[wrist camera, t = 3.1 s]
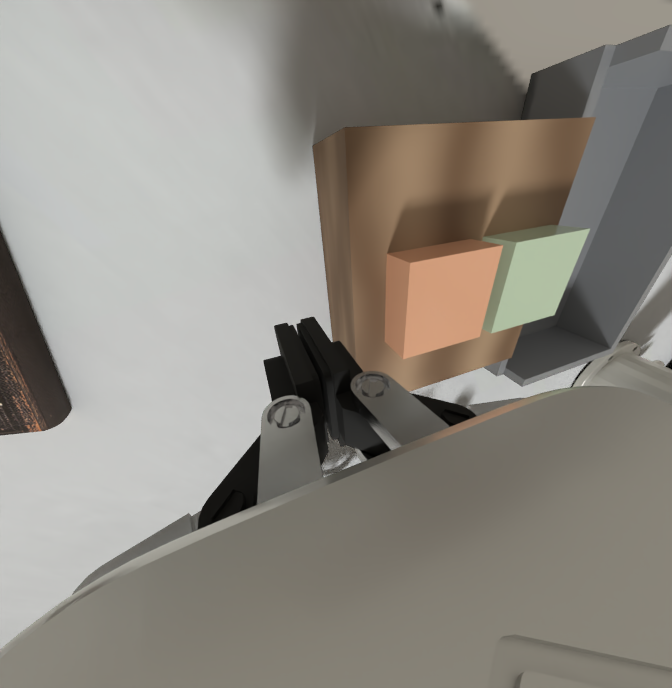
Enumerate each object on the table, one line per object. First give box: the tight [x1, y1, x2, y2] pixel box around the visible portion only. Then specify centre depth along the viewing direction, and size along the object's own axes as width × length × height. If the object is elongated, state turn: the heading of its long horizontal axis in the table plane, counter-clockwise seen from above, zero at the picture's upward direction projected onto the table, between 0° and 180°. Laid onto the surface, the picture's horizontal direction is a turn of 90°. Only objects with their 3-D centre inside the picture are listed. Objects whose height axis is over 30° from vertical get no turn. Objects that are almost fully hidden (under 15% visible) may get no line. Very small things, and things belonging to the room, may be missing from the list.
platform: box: [313, 117, 596, 392], centre depth 18 cm, size 15×16×5 cm
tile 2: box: [385, 239, 503, 359], centre depth 15 cm, size 6×6×2 cm
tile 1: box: [482, 225, 590, 333], centre depth 16 cm, size 6×6×2 cm
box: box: [484, 25, 672, 387], centre depth 21 cm, size 13×22×6 cm, turn 5°
